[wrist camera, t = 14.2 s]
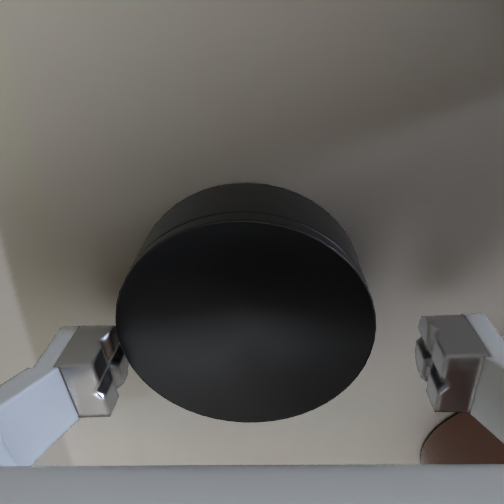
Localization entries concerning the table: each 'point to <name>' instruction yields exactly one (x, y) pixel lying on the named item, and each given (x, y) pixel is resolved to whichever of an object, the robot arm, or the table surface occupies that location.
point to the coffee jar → (462, 443)
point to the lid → (246, 305)
